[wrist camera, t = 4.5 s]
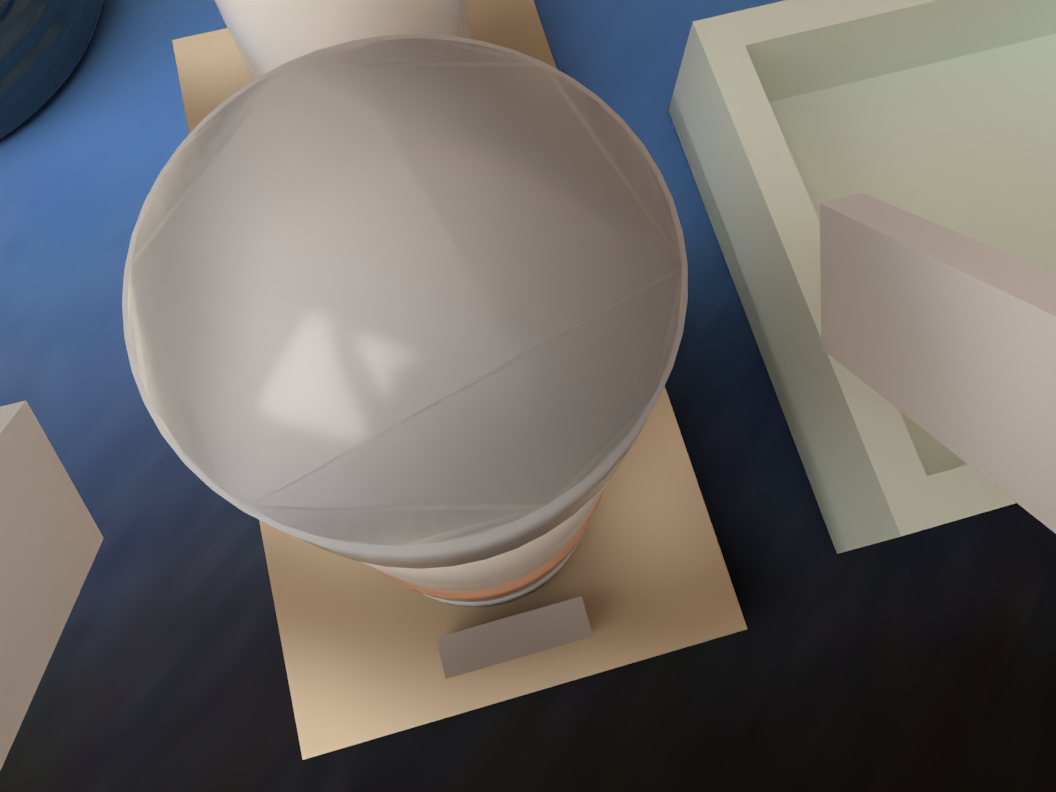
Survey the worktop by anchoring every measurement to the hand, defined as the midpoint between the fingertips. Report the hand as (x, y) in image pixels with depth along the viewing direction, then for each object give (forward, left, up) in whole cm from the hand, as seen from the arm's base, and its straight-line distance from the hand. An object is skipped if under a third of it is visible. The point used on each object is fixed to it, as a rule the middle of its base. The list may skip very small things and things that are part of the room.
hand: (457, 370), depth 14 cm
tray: (-2, +14, -7) cm, 16 cm away
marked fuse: (+1, 0, -6) cm, 6 cm away
